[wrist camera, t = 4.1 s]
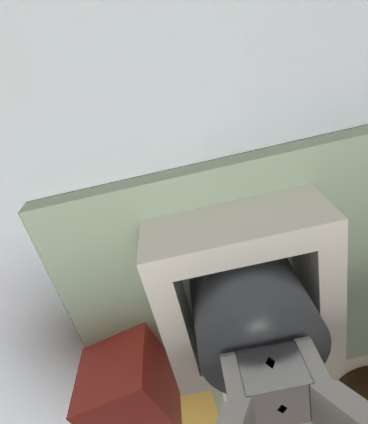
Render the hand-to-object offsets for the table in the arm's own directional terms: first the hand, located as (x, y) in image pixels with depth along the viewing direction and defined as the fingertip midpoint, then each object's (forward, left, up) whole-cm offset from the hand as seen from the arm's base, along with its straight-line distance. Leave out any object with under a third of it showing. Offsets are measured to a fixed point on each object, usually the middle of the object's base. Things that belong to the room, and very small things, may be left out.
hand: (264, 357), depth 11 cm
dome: (0, 0, -4) cm, 4 cm away
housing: (0, 0, -5) cm, 5 cm away
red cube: (+6, +4, -5) cm, 9 cm away
